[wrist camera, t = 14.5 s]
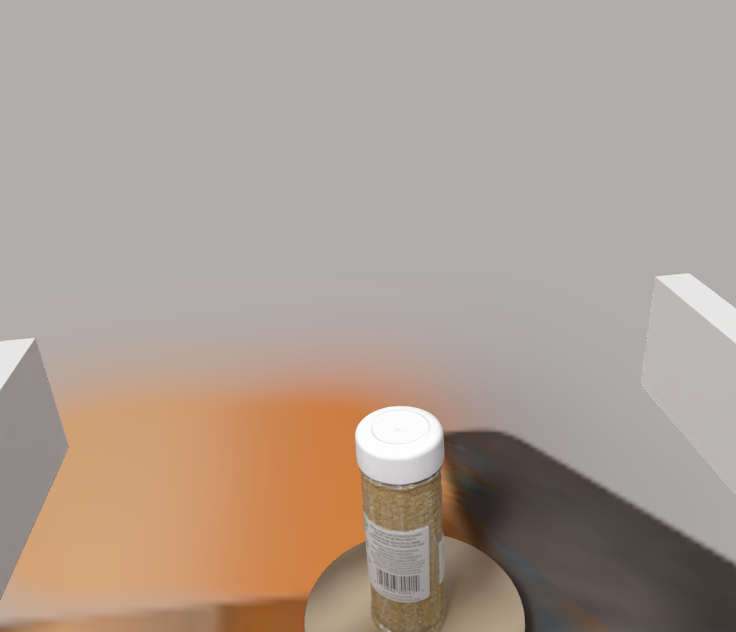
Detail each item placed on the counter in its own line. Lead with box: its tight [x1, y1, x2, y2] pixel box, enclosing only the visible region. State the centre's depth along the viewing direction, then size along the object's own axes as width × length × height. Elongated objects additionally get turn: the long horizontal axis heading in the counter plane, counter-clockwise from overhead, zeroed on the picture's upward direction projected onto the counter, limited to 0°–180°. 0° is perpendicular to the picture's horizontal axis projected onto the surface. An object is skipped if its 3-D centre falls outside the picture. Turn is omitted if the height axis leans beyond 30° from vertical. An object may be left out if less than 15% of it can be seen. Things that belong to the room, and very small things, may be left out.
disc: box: [304, 536, 525, 632], centre depth 43 cm, size 13×13×3 cm
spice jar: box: [355, 406, 446, 632], centre depth 39 cm, size 5×5×14 cm
